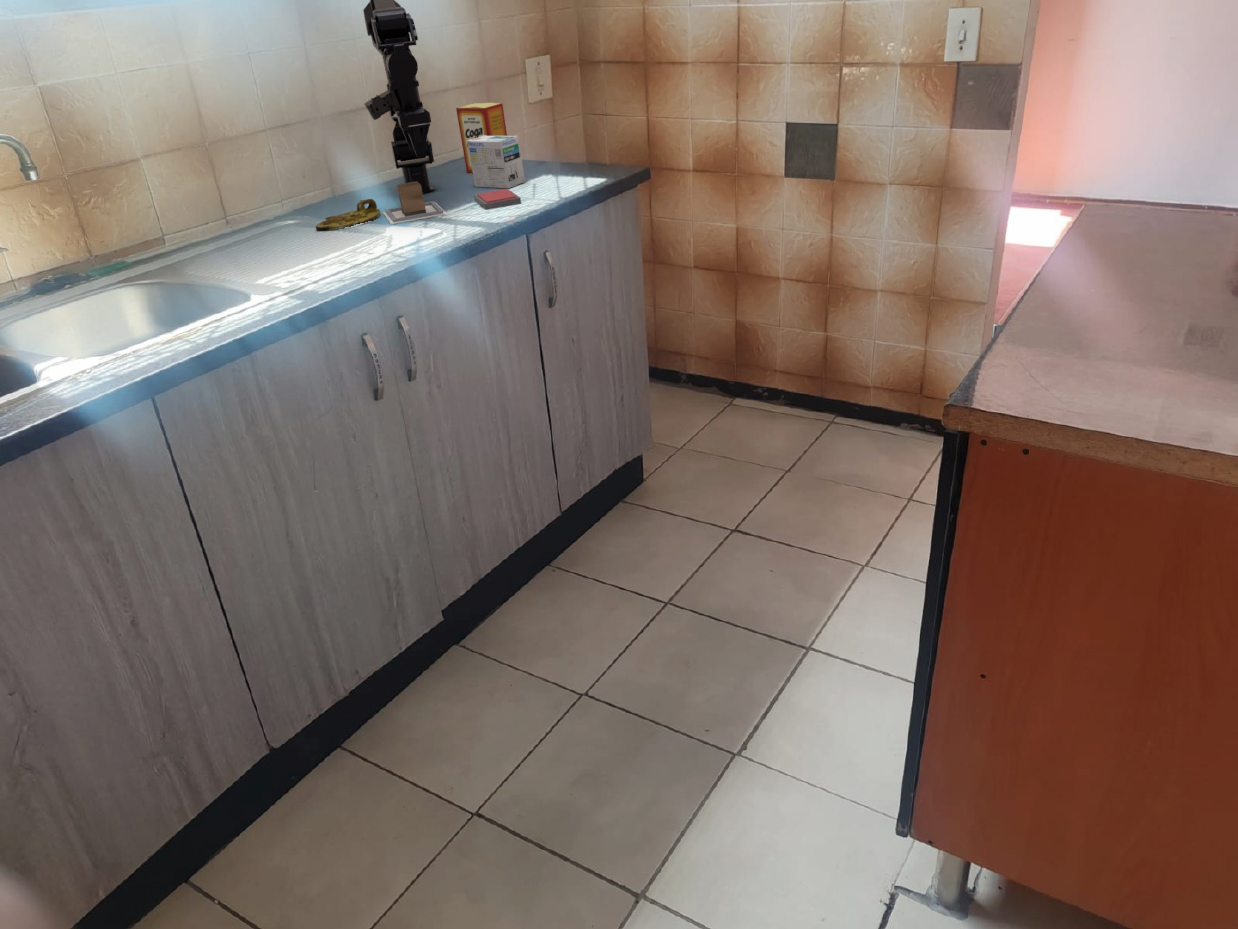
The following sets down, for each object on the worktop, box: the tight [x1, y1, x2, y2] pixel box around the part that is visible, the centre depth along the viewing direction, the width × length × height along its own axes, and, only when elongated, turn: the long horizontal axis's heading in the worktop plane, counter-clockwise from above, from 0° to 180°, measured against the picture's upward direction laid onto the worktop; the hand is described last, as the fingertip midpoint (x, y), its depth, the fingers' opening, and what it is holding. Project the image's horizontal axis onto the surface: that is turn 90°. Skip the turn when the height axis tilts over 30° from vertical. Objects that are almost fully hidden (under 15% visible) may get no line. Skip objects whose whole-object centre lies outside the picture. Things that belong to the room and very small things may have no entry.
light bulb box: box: [467, 135, 526, 189], centre depth 217 cm, size 11×7×11 cm, turn 58°
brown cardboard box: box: [396, 181, 426, 217], centre depth 200 cm, size 4×4×6 cm
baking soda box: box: [455, 102, 508, 174], centre depth 231 cm, size 10×6×16 cm
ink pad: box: [473, 188, 522, 210], centre depth 204 cm, size 10×8×2 cm
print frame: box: [382, 200, 448, 225], centre depth 202 cm, size 12×12×1 cm
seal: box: [315, 198, 382, 232], centre depth 199 cm, size 9×5×15 cm
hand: (416, 154), depth 199 cm, fingers open, 9 cm apart
